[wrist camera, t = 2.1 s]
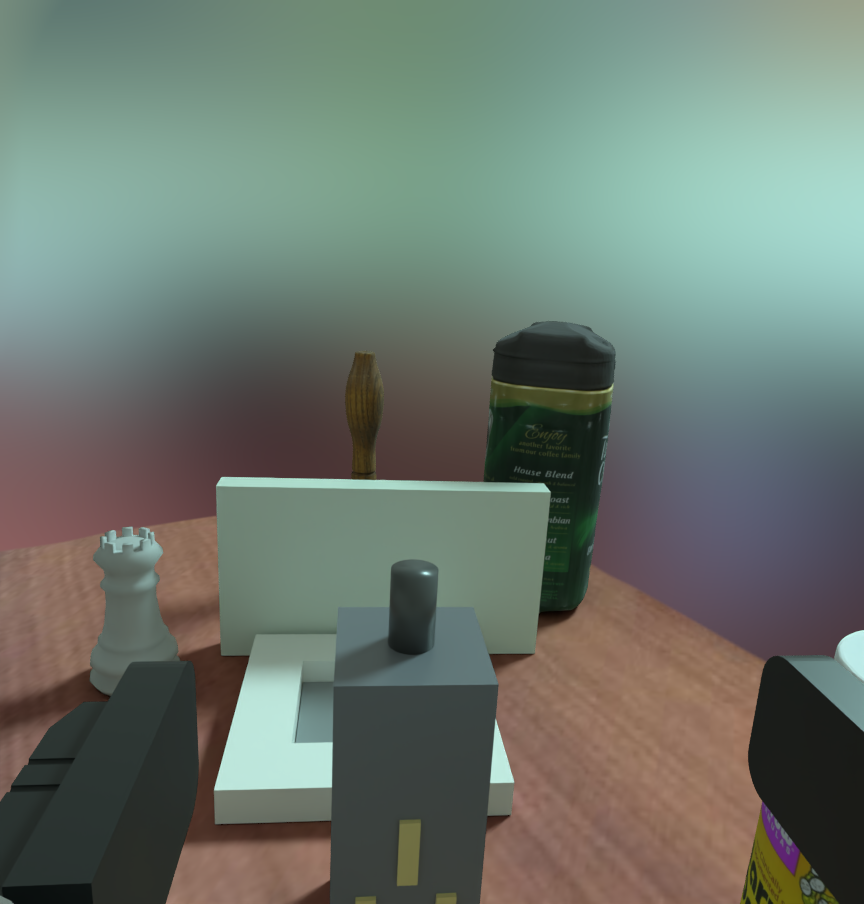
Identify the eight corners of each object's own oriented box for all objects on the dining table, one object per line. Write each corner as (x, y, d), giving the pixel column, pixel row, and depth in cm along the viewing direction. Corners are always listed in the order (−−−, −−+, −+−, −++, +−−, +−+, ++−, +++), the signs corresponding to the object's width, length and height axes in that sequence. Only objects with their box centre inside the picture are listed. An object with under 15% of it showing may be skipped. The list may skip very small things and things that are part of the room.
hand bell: (304, 602, 47) (305, 359, 43) (304, 551, 55) (305, 342, 51) (429, 598, 49) (441, 363, 44) (411, 549, 56) (421, 345, 52)
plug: (327, 1004, 22) (334, 607, 19) (333, 877, 27) (339, 538, 23) (472, 995, 23) (506, 608, 19) (454, 872, 27) (478, 540, 23)
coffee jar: (586, 627, 46) (622, 333, 41) (464, 607, 48) (484, 323, 43) (590, 567, 55) (620, 321, 50) (488, 552, 57) (506, 313, 52)
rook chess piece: (71, 681, 37) (58, 537, 35) (147, 645, 41) (139, 513, 39) (124, 713, 35) (113, 561, 33) (199, 673, 39) (193, 534, 37)
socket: (163, 825, 28) (149, 595, 26) (225, 640, 42) (221, 477, 39) (604, 812, 30) (633, 596, 28) (528, 639, 44) (543, 483, 41)
